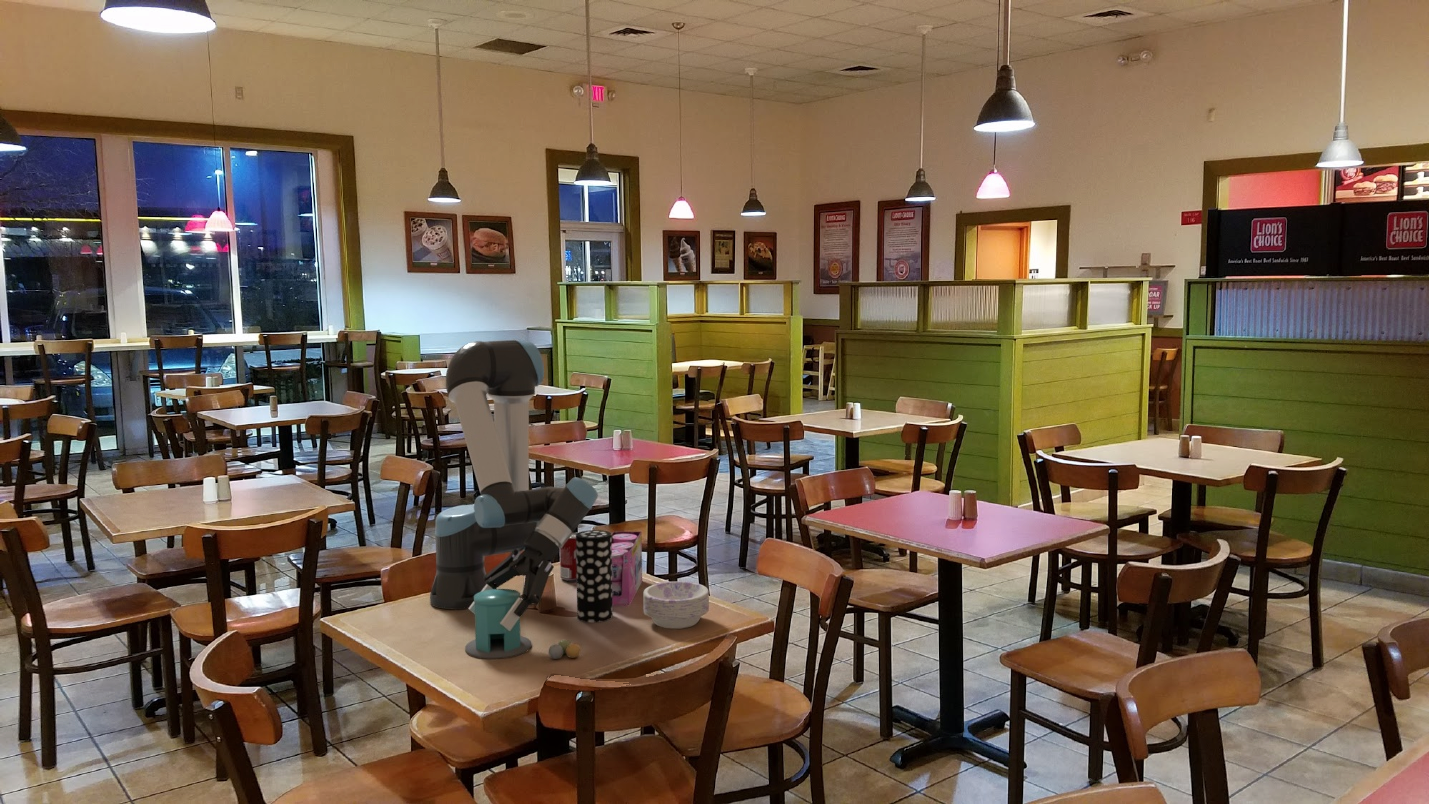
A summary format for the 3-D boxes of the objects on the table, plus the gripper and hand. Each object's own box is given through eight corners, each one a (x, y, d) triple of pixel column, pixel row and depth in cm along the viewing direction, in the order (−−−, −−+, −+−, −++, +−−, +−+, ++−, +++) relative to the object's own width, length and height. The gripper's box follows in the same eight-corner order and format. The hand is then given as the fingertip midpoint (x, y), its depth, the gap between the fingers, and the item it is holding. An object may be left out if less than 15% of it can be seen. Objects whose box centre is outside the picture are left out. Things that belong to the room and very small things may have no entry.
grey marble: (546, 660, 215) (546, 646, 214) (552, 655, 217) (551, 641, 217) (560, 661, 214) (559, 647, 214) (565, 656, 217) (565, 642, 216)
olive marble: (555, 655, 218) (554, 641, 217) (560, 650, 220) (560, 637, 220) (568, 656, 217) (568, 642, 217) (573, 651, 220) (573, 638, 219)
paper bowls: (648, 635, 230) (647, 601, 229) (639, 615, 245) (639, 582, 244) (714, 631, 233) (714, 597, 232) (702, 611, 248) (702, 579, 247)
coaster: (453, 656, 217) (453, 653, 217) (483, 635, 231) (483, 632, 231) (515, 661, 214) (514, 658, 214) (541, 639, 228) (541, 636, 228)
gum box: (629, 607, 251) (628, 553, 250) (597, 607, 252) (596, 552, 250) (642, 581, 275) (642, 531, 273) (613, 580, 275) (612, 530, 274)
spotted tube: (615, 612, 247) (614, 530, 245) (608, 623, 239) (607, 538, 237) (581, 611, 248) (580, 529, 246) (573, 621, 240) (572, 537, 238)
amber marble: (563, 659, 215) (563, 645, 215) (569, 654, 218) (568, 641, 218) (577, 660, 214) (577, 646, 214) (582, 655, 217) (582, 642, 217)
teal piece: (477, 638, 227) (475, 589, 225) (522, 636, 228) (521, 587, 227) (473, 653, 217) (472, 603, 216) (520, 651, 218) (519, 600, 217)
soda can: (567, 583, 272) (567, 539, 271) (556, 578, 277) (555, 534, 276) (590, 579, 276) (589, 535, 275) (578, 574, 281) (577, 531, 280)
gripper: (589, 560, 221) (530, 643, 213) (528, 539, 240) (471, 615, 232) (568, 539, 217) (507, 623, 209) (507, 520, 236) (449, 597, 228)
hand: (488, 619), depth 220 cm, fingers open, 13 cm apart
